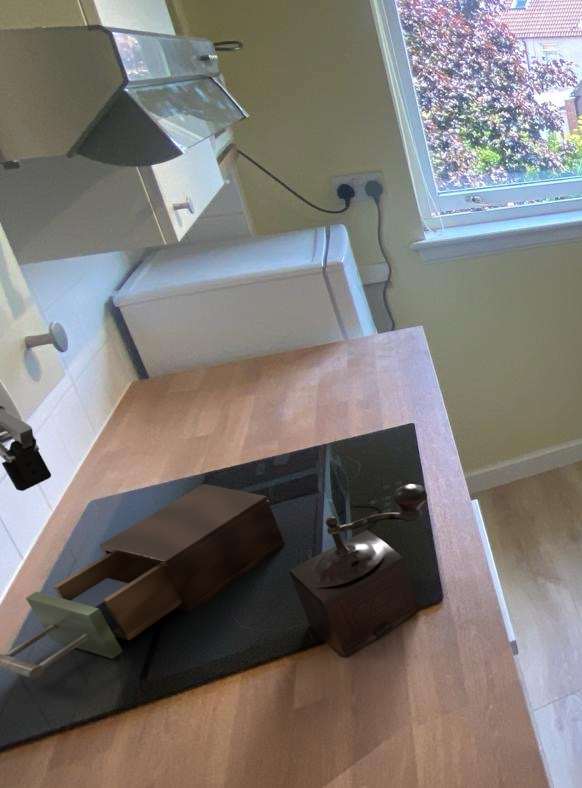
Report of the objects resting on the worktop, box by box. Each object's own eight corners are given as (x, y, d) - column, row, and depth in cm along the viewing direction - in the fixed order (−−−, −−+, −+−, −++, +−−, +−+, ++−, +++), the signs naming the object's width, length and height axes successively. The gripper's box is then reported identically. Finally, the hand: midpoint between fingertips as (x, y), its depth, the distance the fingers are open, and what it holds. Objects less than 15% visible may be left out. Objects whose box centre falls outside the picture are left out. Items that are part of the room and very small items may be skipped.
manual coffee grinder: (345, 663, 92) (302, 550, 85) (306, 624, 98) (263, 516, 91) (459, 589, 104) (430, 484, 96) (418, 559, 110) (388, 458, 102)
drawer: (54, 700, 87) (26, 655, 84) (-9, 679, 90) (-39, 635, 87) (216, 584, 104) (198, 544, 101) (158, 570, 107) (139, 530, 104)
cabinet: (190, 613, 101) (165, 561, 97) (125, 595, 104) (98, 545, 100) (285, 544, 113) (266, 496, 110) (224, 530, 117) (203, 483, 113)
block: (107, 634, 95) (92, 608, 93) (83, 627, 96) (68, 601, 94) (144, 609, 99) (131, 583, 97) (120, 603, 100) (107, 577, 98)
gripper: (-160, 357, 81) (-79, 485, 88) (-59, 374, 76) (18, 508, 83) (-71, 330, 87) (-2, 451, 94) (28, 344, 83) (92, 470, 90)
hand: (7, 478), depth 89 cm, fingers open, 9 cm apart
